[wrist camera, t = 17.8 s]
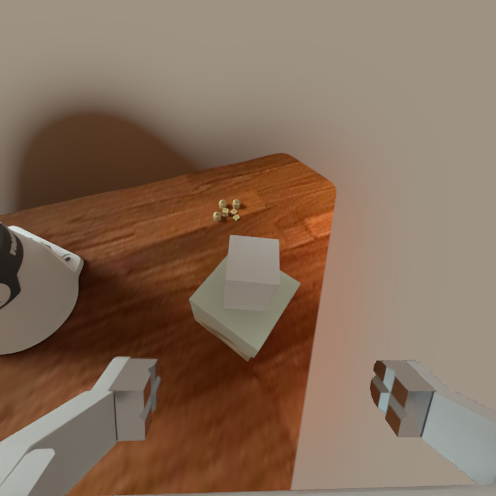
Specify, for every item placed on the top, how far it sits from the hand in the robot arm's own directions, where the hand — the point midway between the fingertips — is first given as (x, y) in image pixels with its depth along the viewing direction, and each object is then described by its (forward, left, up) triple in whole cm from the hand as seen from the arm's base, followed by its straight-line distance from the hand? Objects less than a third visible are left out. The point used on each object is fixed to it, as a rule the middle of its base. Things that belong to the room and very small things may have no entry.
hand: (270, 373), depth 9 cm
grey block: (-6, +9, -18) cm, 21 cm away
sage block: (-6, +9, -23) cm, 26 cm away
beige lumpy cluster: (-20, +25, -29) cm, 43 cm away
